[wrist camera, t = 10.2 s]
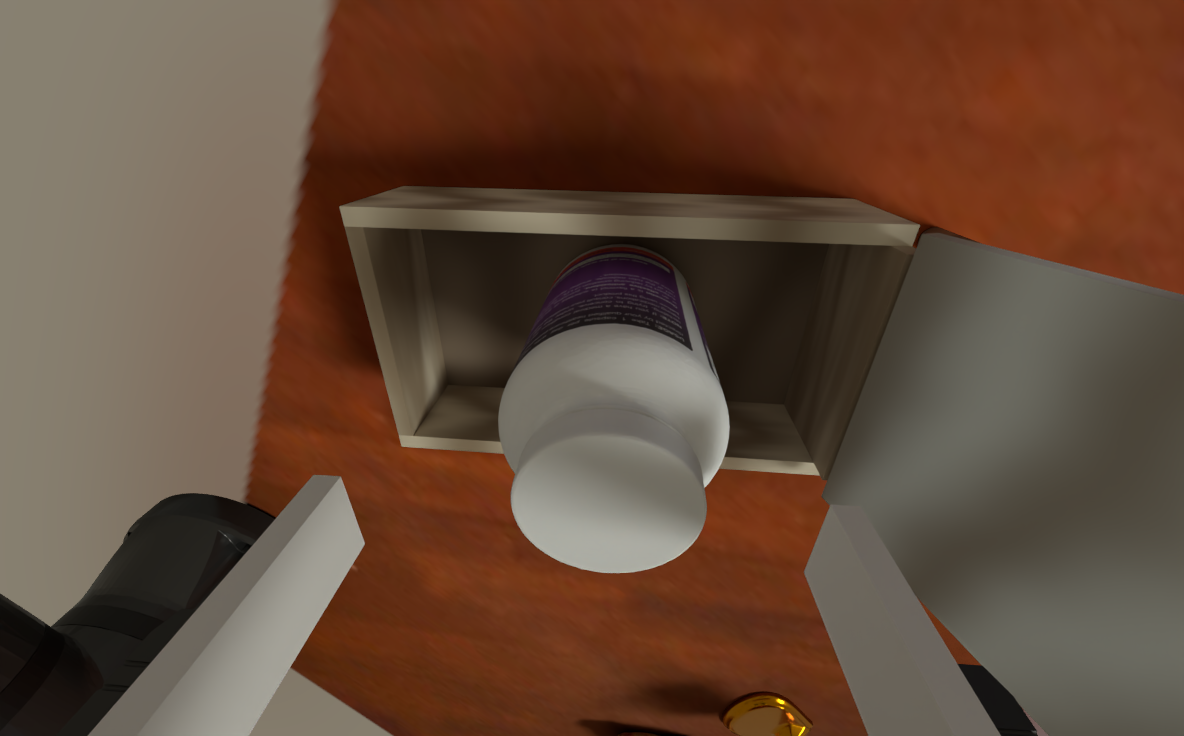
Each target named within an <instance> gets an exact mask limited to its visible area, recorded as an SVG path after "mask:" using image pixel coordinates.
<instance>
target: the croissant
mask: <svg viewBox="0 0 1184 736" xmlns="http://www.w3.org/2000/svg"><path fill="white" fill-rule="evenodd" d="M617 736H659V735H655V734H649V733H643V732H632V733H626V732H625V733H621V734H619V735H617Z"/></svg>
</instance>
